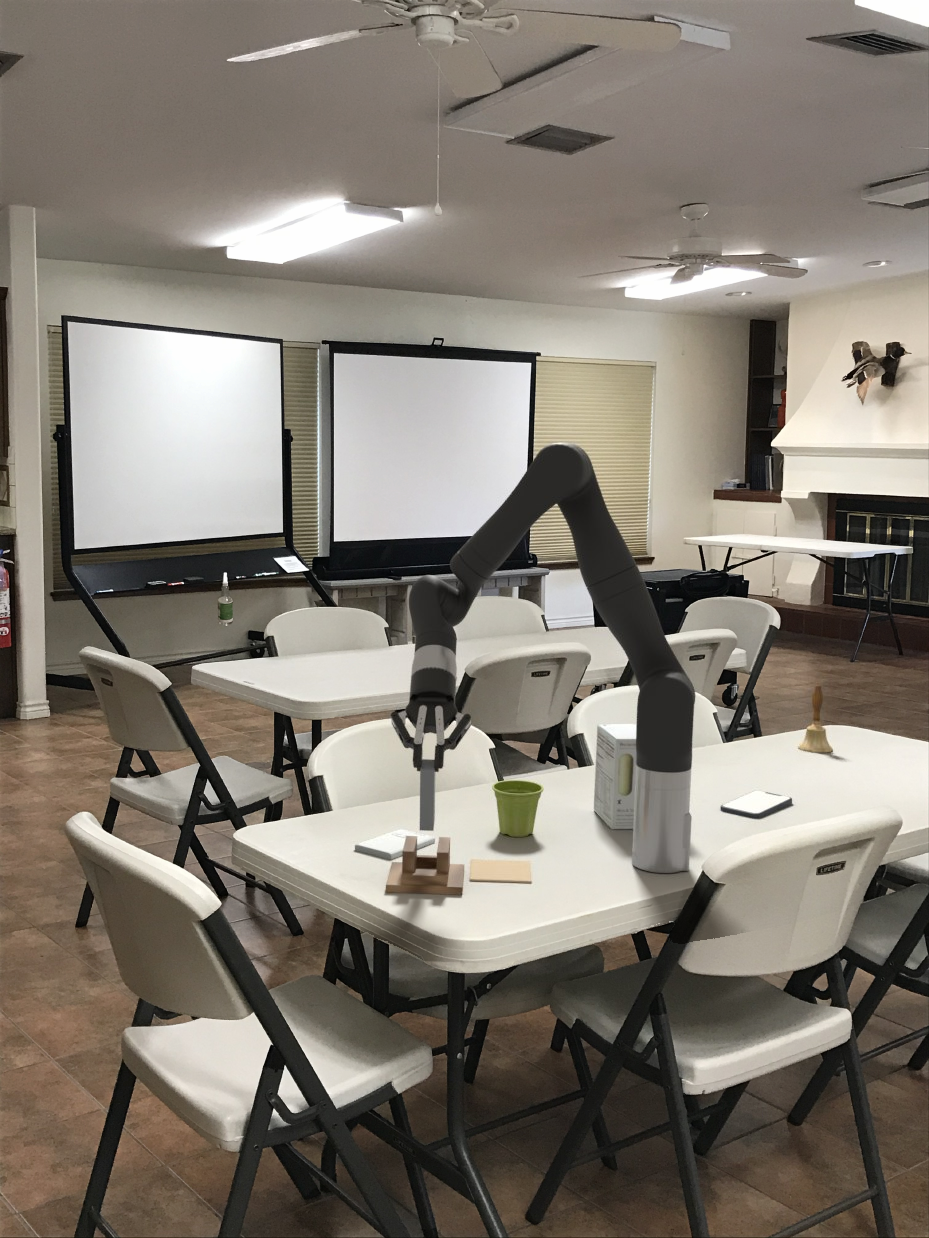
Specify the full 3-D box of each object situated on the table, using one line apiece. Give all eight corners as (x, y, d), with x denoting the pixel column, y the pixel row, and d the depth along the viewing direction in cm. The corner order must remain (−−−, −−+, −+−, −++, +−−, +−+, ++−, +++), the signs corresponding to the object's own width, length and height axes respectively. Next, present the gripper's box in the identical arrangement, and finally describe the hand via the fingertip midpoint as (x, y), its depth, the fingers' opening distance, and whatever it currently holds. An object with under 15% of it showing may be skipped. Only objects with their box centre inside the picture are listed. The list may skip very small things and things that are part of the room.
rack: (464, 871, 197) (465, 834, 196) (462, 894, 186) (463, 856, 185) (391, 868, 197) (392, 832, 196) (385, 892, 186) (386, 853, 185)
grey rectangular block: (434, 819, 193) (435, 759, 190) (433, 830, 189) (434, 769, 186) (421, 819, 193) (421, 759, 190) (419, 830, 189) (420, 769, 186)
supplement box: (610, 830, 222) (614, 738, 220) (592, 810, 235) (595, 723, 233) (679, 828, 224) (683, 737, 222) (657, 809, 237) (661, 722, 235)
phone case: (757, 822, 232) (794, 805, 244) (758, 814, 231) (795, 797, 243) (717, 813, 237) (755, 796, 249) (717, 805, 237) (755, 789, 249)
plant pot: (547, 839, 215) (548, 792, 214) (496, 841, 214) (497, 793, 212) (535, 824, 224) (537, 779, 223) (486, 825, 223) (487, 780, 222)
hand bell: (799, 751, 290) (803, 687, 288) (796, 744, 298) (799, 681, 296) (835, 754, 289) (839, 689, 287) (830, 746, 297) (834, 683, 295)
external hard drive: (354, 853, 207) (399, 836, 217) (391, 862, 202) (435, 845, 212) (354, 843, 207) (399, 827, 217) (391, 853, 202) (435, 836, 212)
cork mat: (529, 862, 202) (529, 861, 202) (531, 882, 192) (531, 880, 192) (470, 860, 202) (471, 859, 202) (469, 880, 192) (469, 878, 192)
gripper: (390, 664, 195) (382, 755, 184) (475, 666, 195) (471, 758, 184) (393, 690, 201) (385, 779, 190) (475, 692, 201) (471, 782, 190)
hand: (427, 768), depth 187 cm, fingers closed on grey rectangular block, 2 cm apart
